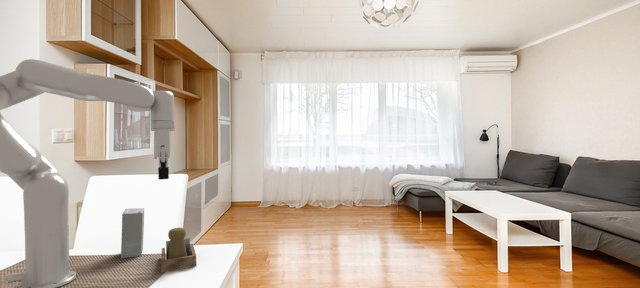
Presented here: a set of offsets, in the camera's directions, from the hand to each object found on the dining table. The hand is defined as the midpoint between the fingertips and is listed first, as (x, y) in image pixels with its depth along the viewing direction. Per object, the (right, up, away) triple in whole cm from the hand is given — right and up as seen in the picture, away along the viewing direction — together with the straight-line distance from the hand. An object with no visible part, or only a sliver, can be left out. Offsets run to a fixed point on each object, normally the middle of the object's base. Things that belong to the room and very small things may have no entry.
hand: (163, 178), depth 111 cm
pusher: (+7, -27, -4) cm, 28 cm away
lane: (+8, -27, -5) cm, 29 cm away
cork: (+9, -26, -8) cm, 29 cm away
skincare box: (-12, -28, +3) cm, 30 cm away
